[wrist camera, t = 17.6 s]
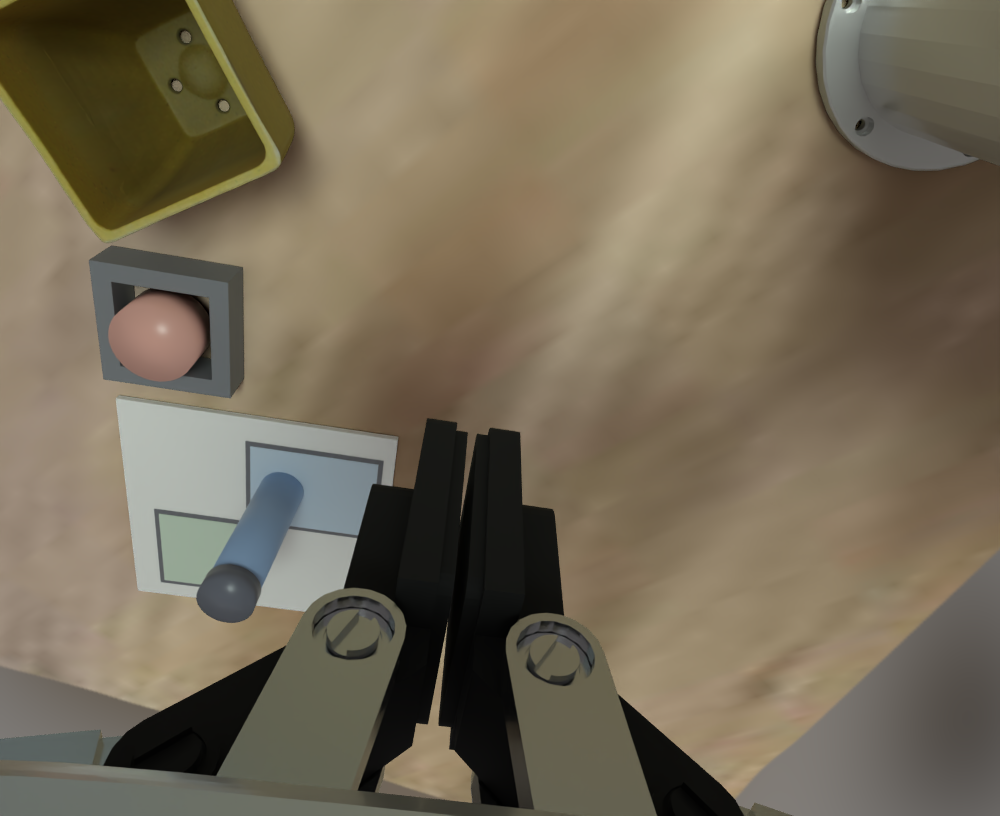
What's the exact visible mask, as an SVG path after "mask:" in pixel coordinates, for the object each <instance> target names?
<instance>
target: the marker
mask: <svg viewBox="0 0 1000 816" xmlns="http://www.w3.org/2000/svg"><path fill="white" fill-rule="evenodd" d="M303 496H304V490H303V487H302V485H301V483H300V482H299V481H298V480H297V479H296V478H295V477H293V476H292V475H290V474H287V473H283V472H274V473H270V474H268V475H267V476H265V477H264V478H263V480H262V481H261V483H260V485H259V487H258V489H257V490H256V492H255V494H254V496H253V497H252V499H251V501H250V503H249V504H248V506H247V508H246V510H245V512H244V513H243V515H242V517H241V519H240V520H239V522H238V524H237V526H236V528H235V529H234V531H233V533H232V535H231V536H230V538H229V540H228V542H227V544H226V545H225V547H224V549H223V551H222V552H221V554H220V556H219V558H218V560H217V561H216V563H215V565H214V567H213V568H212V569H211V570H210V571H209V572H208V573H207V575H206V577H205V579H204V580H203V582H202V584H201V586H200V588H199V589H198V591H197V595H196V599H197V603H198V605H199V607H200V608H201V610H202V611H203V612H204V613H206V614H207V615H208V616H210V617H211V618H213V619H216V620H218V621H222V622H227V623H235V622H240V621H243V620H245V619H247V618H248V617H249V616H250V615H251V614H252V613H253V610H254V608H255V606H256V604H257V602H258V599H259V597H260V595H261V588H262V586H263V584H264V582H265V580H266V577H267V575H268V573H269V571H270V569H271V566H272V564H273V562H274V560H275V558H276V556H277V553H278V551H279V549H280V547H281V545H282V542H283V540H284V538H285V536H286V534H287V531H288V529H289V527H290V525H291V523H292V521H293V518H294V516H295V514H296V512H297V510H298V507H299V505H300V503H301V501H302V499H303Z"/></svg>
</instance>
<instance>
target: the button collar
mask: <svg viewBox="0 0 1000 816" xmlns="http://www.w3.org/2000/svg"><path fill="white" fill-rule="evenodd" d="M89 266H90V274H91V282H92V290H93V298H94V306H95V314H96V322H97V330H98V338H99V346H100V354H101V362H102V371H103V379H105V380H112V381H119V382H125V383H132V384H139V385H145V386H152V387H159V388H165V389H172V390H179V391H185V392H192V393H199V394H205V395H212V396H219V397H225V398H231V397H232V395H233V394H234V392H235V391H236V389H237V388H238V386H239V385H240V384H241V382H242V381H243V379H244V333H243V267H238V266H232V265H226V264H220V263H214V262H208V261H202V260H196V259H190V258H184V257H178V256H172V255H166V254H159V253H153V252H147V251H141V250H135V249H129V248H123V247H117V246H110V247H108V248H107V249H105V250H104V251H102V252H101V253H99V254H98V255H96V256H94V257H93V258H91V259H90V260H89ZM134 285H135V286H141V287H147V288H153V289H159V290H166V291H172V292H178V293H184V294H191V295H197V296H203V297H209V310H210V338H211V359H210V358H204V357H199V359H198V360H197V361H196V362H195V363H194V365H193V366H192V367H191V368H190V369H189V371H188V372H187V373H186V374H184V375H183V376H181V377H180V378H178V379H175V380H172V381H164V382H160V381H152V380H148V379H145V378H142V377H140V376H138V375H136V374H134V373H132V372H131V371H130V370H128V369H127V368H126V367H125V366H123V365H122V363H121V362H120V361H119V360H118V359H117V358H116V356H115V354H114V353H113V351H112V349H111V346H110V343H109V338H108V330H109V325H110V323H111V321H112V319H113V317H114V316H115V315H116V314H117V313H118V312H119V311H120V310H122V309H123V308H124V307H125V306H126V305H128V304H129V303H130V302H131V301H132V300H134V299H135V294H134Z"/></svg>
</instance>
